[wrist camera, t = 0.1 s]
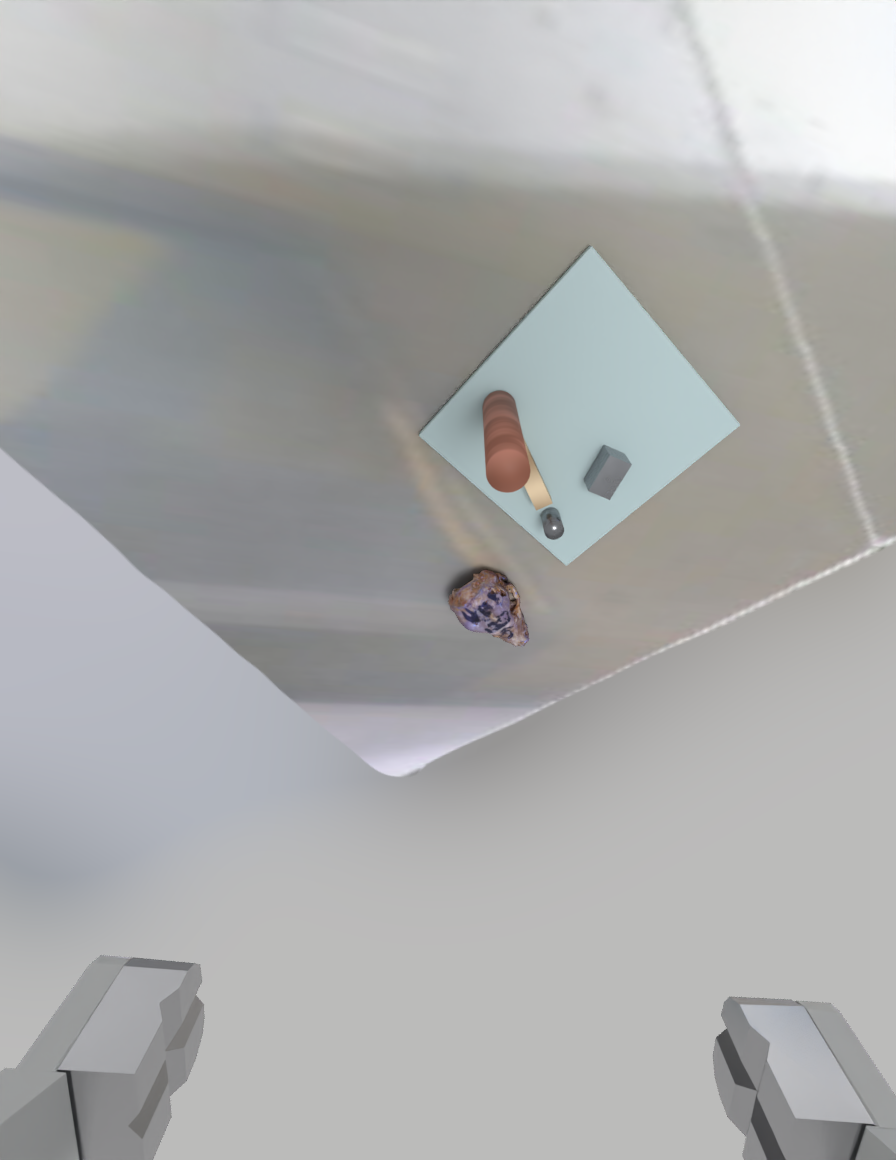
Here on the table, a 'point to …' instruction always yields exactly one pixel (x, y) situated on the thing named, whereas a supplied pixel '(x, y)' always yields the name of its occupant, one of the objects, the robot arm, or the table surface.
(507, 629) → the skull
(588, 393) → the board
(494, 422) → the brown piece
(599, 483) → the block
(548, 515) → the hinge pin
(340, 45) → the table surface
